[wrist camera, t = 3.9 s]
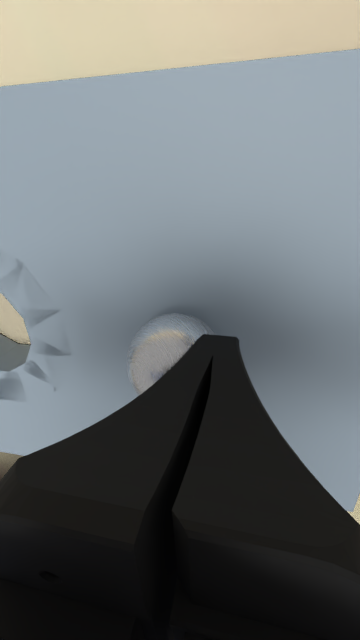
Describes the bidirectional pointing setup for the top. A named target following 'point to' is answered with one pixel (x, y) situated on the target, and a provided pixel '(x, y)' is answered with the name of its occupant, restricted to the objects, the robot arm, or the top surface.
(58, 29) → the top surface
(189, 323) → the ball
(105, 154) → the deck
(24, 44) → the top surface
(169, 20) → the top surface
